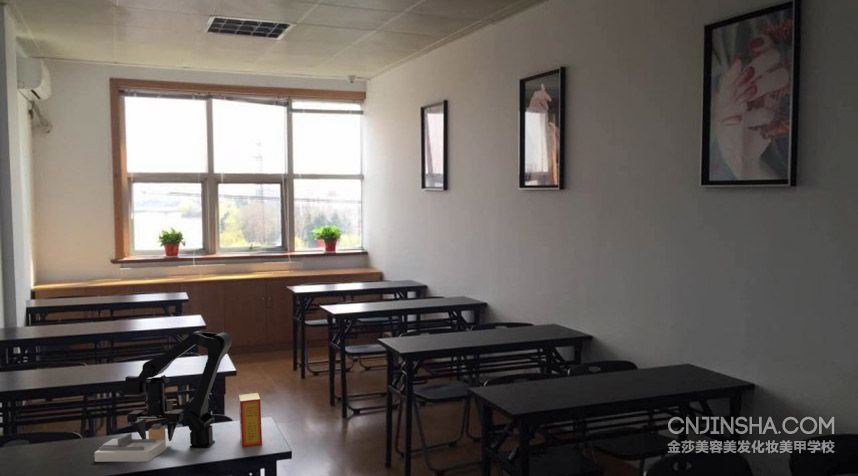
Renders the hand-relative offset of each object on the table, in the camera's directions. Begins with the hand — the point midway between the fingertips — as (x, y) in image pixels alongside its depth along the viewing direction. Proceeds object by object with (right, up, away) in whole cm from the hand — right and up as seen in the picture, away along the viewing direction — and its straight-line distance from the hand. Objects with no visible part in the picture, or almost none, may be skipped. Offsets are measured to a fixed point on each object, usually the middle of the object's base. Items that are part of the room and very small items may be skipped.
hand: (157, 440), depth 241 cm
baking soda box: (+32, -1, 0) cm, 32 cm away
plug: (0, -2, 0) cm, 2 cm away
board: (-5, -2, -9) cm, 11 cm away
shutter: (-10, +1, -9) cm, 13 cm away
